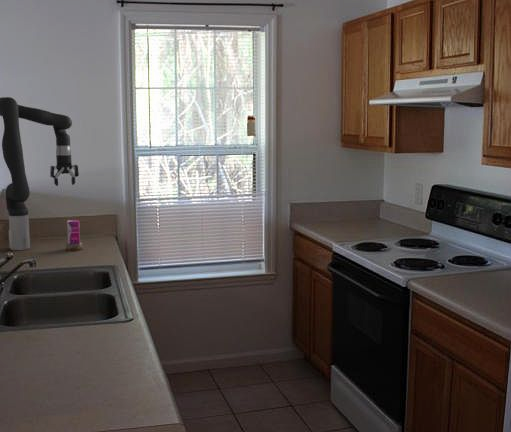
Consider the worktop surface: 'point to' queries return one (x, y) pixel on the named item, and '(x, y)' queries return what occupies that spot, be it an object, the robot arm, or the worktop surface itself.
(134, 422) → the worktop surface
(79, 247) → the base block
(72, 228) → the supplement box
